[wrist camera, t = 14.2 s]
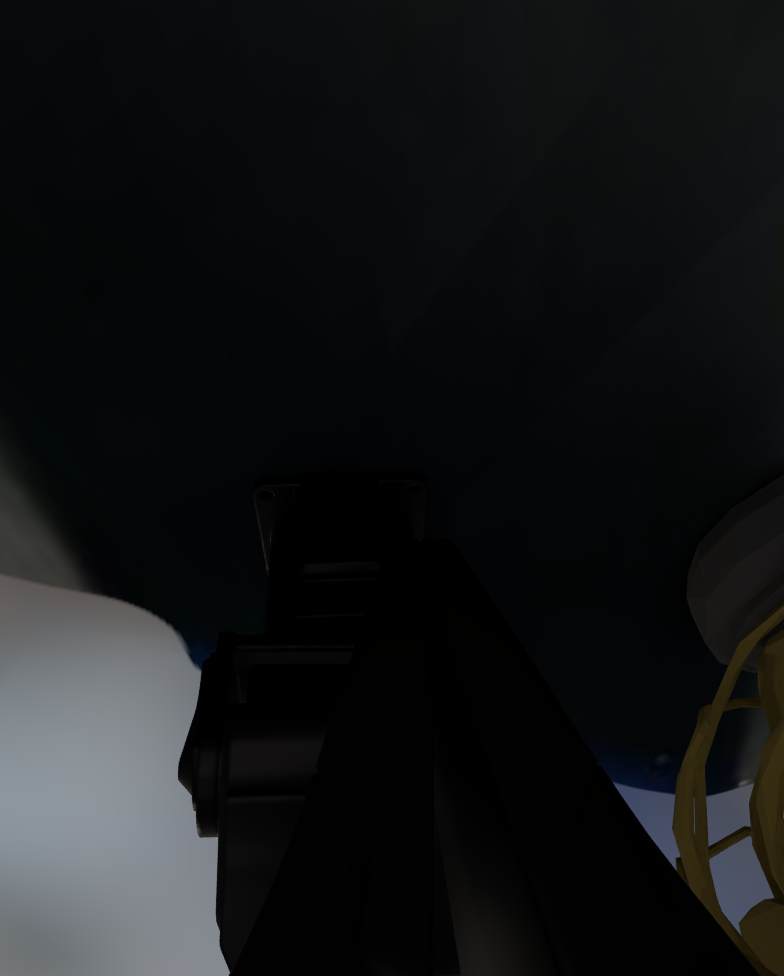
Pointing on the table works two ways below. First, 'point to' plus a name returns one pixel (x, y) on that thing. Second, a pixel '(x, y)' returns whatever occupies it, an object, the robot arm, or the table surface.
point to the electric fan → (780, 666)
